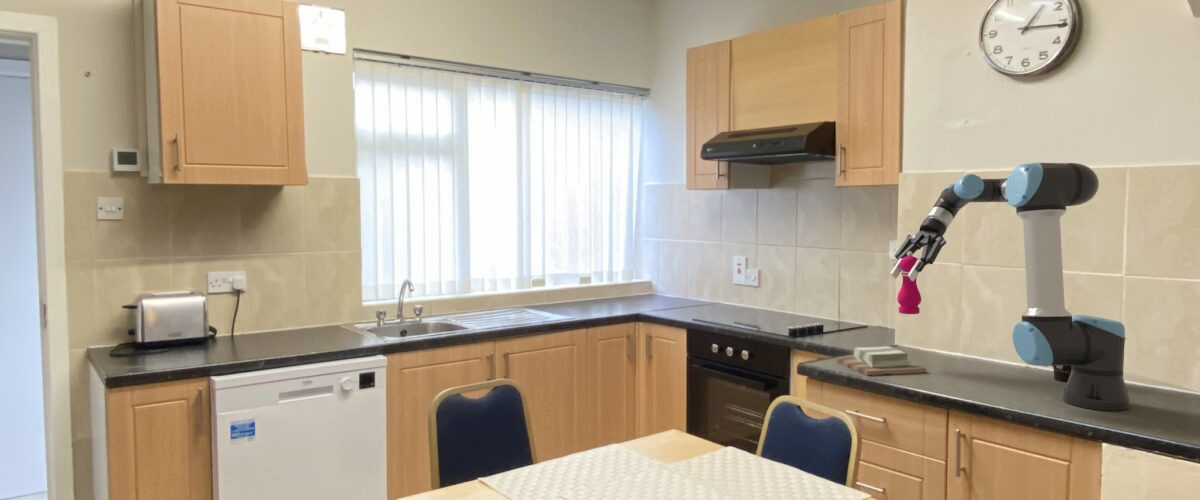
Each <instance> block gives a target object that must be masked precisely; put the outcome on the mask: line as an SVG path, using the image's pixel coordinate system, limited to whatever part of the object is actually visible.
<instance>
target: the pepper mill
mask: <svg viewBox="0 0 1200 500" xmlns="http://www.w3.org/2000/svg"><path fill="white" fill-rule="evenodd" d="M917 260H919V258H917V257H915V256H914V254H913V253H912V252H911V251H909V252H908V253H907V256H906V257H904V258H902V259H901V261H900V267H901V269H902V271H901V272H900V275H901V277H902V284H901V287H900V289H899V292H898V293H897V298H896V301H897V302H898V304H899V306H898V313H900V314H902V315H918V314H920V307H919V305H920V304H921V303H922V296H921V295H922V294H921V293H920V291H919V288H918V284H917V277H918V276H919V274H918V275H917V277H916V278H915V280H914V281H911V279H910V278H909V277H908V274H909V272H910V271H911V269H912V268H913V266H914V265H915V263H916V262H917Z"/></svg>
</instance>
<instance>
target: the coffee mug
mask: <svg viewBox="0 0 1200 500" xmlns="http://www.w3.org/2000/svg"><path fill="white" fill-rule="evenodd" d="M1071 366H1072V365H1060V366H1051V367H1052V368H1053V377H1054V380H1055V381H1058V382H1061V383H1067V382H1068V379H1069V377H1070V374H1071Z"/></svg>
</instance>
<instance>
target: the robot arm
mask: <svg viewBox="0 0 1200 500" xmlns="http://www.w3.org/2000/svg"><path fill="white" fill-rule="evenodd" d="M1099 184H1100V182H1099V178H1098V175H1097V173H1096V172H1095V171H1094V170H1093V169H1092V168H1091V167H1089V166H1087V165H1084V164H1081V163H1076V162H1059V163H1058V162H1031V163H1022V164H1020V165H1018V166H1017V167H1015V168H1014V169H1013V170H1012V171H1011V173H1010V174H1009V176H1008V177H1006V178H981V176H978V175H977V174H974V173H969V174H968V173H967V174H965V175H964V176H961V177H960V178H959V179H957V180H956V181H955V182H954V183H953V184H947V185H946V186H945V188H944V189H943V190H942V191H941V193H940V195H939V197H938V198H937V200H936V202H935V203H934V204H933V206H932V208H931V209H930V210H929V212H928V214H927V215H926V217H925V219H924V220H923V221H922V223H921V224H920V226H919V231H918V232H916V234H915V235H912V234H907V235H906V239H905V240H904V242H903V243H902V244H901V246H900V247H899V248H898V250H897V251H896V253H895V254H894V257H895V259H896V262H895V263H894V265H893V269H891V272H890V273H889V274H890V275H891V277H892V278H893V279H894V280H896V279H898V277H899V276H900V275H901V273H902V272H901V271H903V270H902V269H901V267H900V261H901V259H902V258H904V257H906V256H907V253H908V252H909V251H911V252H912V253H913V255H914V254H915V253H916V252H917V251H919V250H921V249H922V248H923V249H922V251H921V252H922V253H921V256H920V257H919V258H918V260H917V262H916V263H915V265H914V266H913V268H912V269H911V271H910V272H909V274H908V277H909V278H910V279H911V281H914V280H915V278H916V277H918V276H919V273H921V272H922V271H923V270H924V268H925V267H926V266H927V265H933V264H934V263H935V261H936V258H937V257H938V256H939V254H940V252H941V250H942V248H943V247H944V245H946V244H947V241H946V239H945V238H944V235H945V233H946V232H947V230H948V229H949V227H950V225H951V223H952V222H953V221H954V219H955V217H956V216H957V214H958V213H959V211H960V210H962V209H963V207H965V206H967V205H968V204H969V203H1008V205H1009V206H1011V207H1013V208H1015V210H1016V216H1017V217H1019V219H1021V220H1022V223H1023V225H1022V226H1023V242H1024V243H1023V244H1024V263H1025V266H1024V267H1025V282H1026V283H1025V284H1026V285H1025V286H1026V287H1025V288H1026V300H1027V301H1026V303H1027V304H1026V305H1027V309H1025V311H1024V312H1023V313H1022V314H1021V321H1020V322H1017V323H1016V324H1015V326H1014V327H1013V328H1014V329H1012V343H1013V346H1014V347H1013V348H1014V349H1015V352H1016V353H1017V355H1018V356H1019V357H1020V359H1021V360H1022V361H1023V362H1024V363H1026V364H1028V365H1029V366H1034V367H1035V366H1039V367H1041V366H1042V367H1052V366H1060V365H1072V366H1071V374H1070V377H1069V379H1068V382H1066V385H1065V387H1064V388H1063V390H1062V400H1063V401H1064V402H1065V403H1067V404H1070V405H1072V406H1077V407H1079V408H1084V409H1092V410H1098V411H1110V412H1111V411H1113V412H1114V411H1125V410H1128V409H1130V408H1131V407H1130V406H1131V398H1130V396H1129V395H1128V394H1129V393H1128V389H1127V385H1126V383H1125V380H1124V364H1125V362H1124V361H1125V344H1126V343H1125V342H1126V339H1127V338H1126V330H1125V328H1126V327H1125V325H1124V324H1123V323H1122V322H1120V321H1118V320H1114V319H1111V318H1110V319H1108V318H1104V317H1098V316H1090V315H1085V314H1084V315H1083V314H1075V315H1072V314H1071V313H1070V312H1069V311H1068V310H1067V308H1066V306H1065V288H1064V270H1063V251H1062V232H1061V218H1062V217H1063V216H1064V215H1065V213H1066V212H1067V207H1075V206H1079V205H1083V204H1085V203H1087V202H1089V201H1090V200H1092V199H1093V198H1094V197H1095V195H1096V194H1097V192H1098V189H1099ZM917 275H918V276H917ZM916 279H917V278H916Z"/></svg>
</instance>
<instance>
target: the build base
mask: <svg viewBox="0 0 1200 500" xmlns="http://www.w3.org/2000/svg"><path fill="white" fill-rule="evenodd" d="M908 354H909V353H907V352H904V351H903V350H899V349H897V348H894V347H892V346H888V345H884V346H883V345H882V346H881V345H880V346H860V347H859V346H857V347H856V346H855V347H853V356H839V357H838V356H837V357H836V363H838V362H840V363H842V364H841V365H843V364H844V365H843V366H845V365H846V366H845V367H847V366H848V367H847V368H849V367H850V369H851V368H852V369H851V370H853V369H854V370H853V371H856V372H858V373H860V372H861V374H862V373H863V374H862V375H864V374H865V375H864V376H866V375H867V377H869V376H868V375H872V376H885V375H884V374H892V375H908V374H909V375H911V374H926V373H927V368H926V367H925V366H922V365H919V364H916V363H914V362H911V361H909V360H908ZM840 363H839V364H840Z"/></svg>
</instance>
